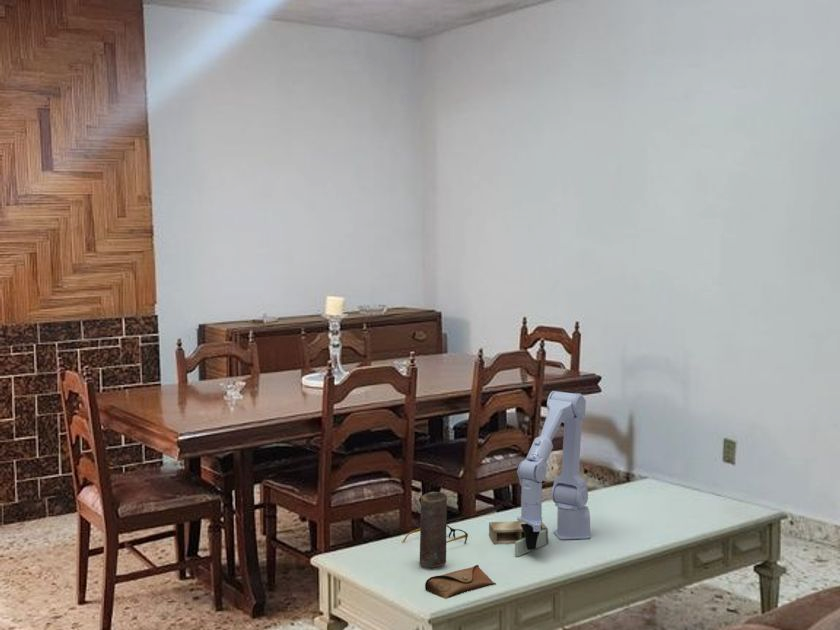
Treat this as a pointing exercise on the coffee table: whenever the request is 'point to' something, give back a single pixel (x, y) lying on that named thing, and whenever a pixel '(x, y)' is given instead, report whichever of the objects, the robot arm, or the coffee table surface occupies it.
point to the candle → (433, 529)
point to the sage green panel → (541, 540)
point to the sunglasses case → (458, 582)
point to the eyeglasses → (449, 535)
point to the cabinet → (507, 531)
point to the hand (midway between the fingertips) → (531, 549)
